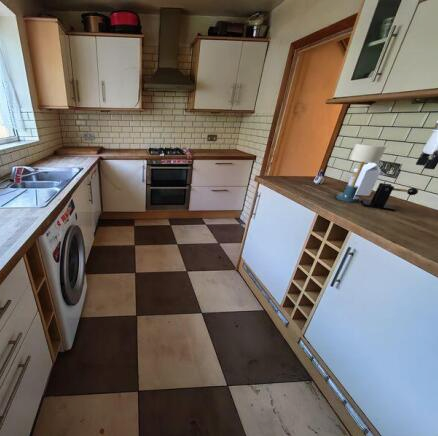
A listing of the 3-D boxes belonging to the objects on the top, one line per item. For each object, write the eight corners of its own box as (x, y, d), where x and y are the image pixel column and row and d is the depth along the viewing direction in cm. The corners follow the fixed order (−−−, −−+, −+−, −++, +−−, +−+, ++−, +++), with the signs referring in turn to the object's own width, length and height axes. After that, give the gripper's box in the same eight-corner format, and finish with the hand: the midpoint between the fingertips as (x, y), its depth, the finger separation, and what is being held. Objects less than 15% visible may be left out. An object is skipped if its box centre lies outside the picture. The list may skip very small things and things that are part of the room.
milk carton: (355, 195, 136) (369, 163, 128) (349, 191, 143) (362, 161, 135) (369, 196, 135) (384, 164, 127) (362, 192, 141) (376, 162, 133)
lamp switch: (414, 194, 113) (418, 187, 112) (417, 196, 110) (421, 189, 109) (379, 190, 119) (382, 183, 118) (381, 191, 117) (384, 185, 115)
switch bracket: (388, 205, 122) (400, 184, 116) (394, 211, 115) (406, 189, 110) (360, 201, 127) (369, 180, 122) (363, 206, 120) (373, 184, 115)
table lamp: (358, 198, 131) (382, 144, 118) (362, 204, 122) (389, 147, 109) (332, 194, 137) (353, 142, 124) (335, 200, 128) (357, 144, 115)
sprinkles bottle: (351, 188, 149) (359, 168, 143) (356, 190, 144) (366, 169, 139) (344, 188, 149) (352, 167, 143) (349, 190, 144) (358, 169, 139)
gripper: (471, 129, 91) (444, 171, 99) (449, 127, 104) (427, 165, 112) (444, 128, 94) (420, 169, 102) (426, 126, 108) (406, 162, 115)
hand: (424, 166), depth 107 cm, fingers open, 9 cm apart
